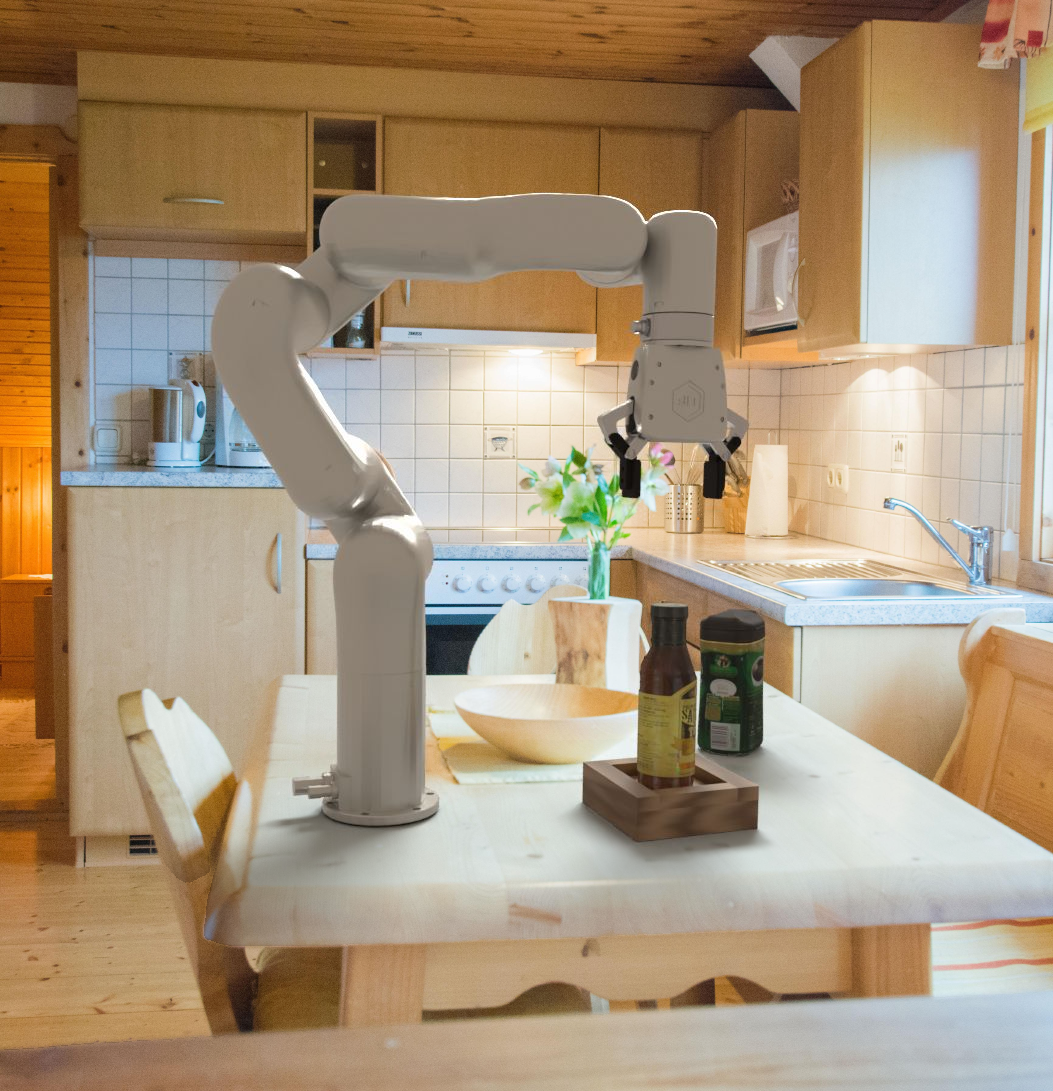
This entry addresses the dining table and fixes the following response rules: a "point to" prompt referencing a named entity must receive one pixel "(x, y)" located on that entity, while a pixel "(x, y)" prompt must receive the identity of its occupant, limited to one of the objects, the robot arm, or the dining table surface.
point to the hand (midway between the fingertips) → (672, 498)
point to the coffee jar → (731, 682)
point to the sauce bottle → (667, 703)
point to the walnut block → (670, 800)
